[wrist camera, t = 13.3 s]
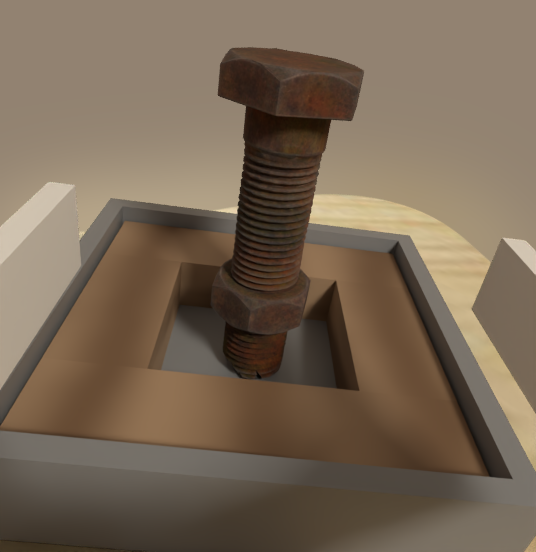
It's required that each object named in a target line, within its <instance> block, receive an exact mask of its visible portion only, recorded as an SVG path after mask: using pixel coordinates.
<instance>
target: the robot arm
mask: <svg viewBox="0 0 536 552" xmlns="http://www.w3.org/2000/svg"><path fill="white" fill-rule="evenodd" d="M80 267H81V255H80V242H79V228H78V215H77V202H76V189H75V185H69V184H62V183H54V182H48V183H47V184H46V185H45V186H44V187H43V188H42V189H40V190H39V191H38V192H37V193H36V194H35V195H34V196H33V197H32V198H31V199H30V200H29V201H28V202H26V203H25V205H23V206H22V207H21V208H20V209H19V210H18V211H17V212H16V213H15V214H14V215H12V216H11V217H10V218H9V219H8V220H7V221H6V222H5V223H4V224H3V225H2V226H1V227H0V389H1V388H2V386H3V385H4V383H5V382H6V380H7V379H8V377H9V375H10V374H11V372H12V371H13V369H14V368H15V366H16V365H17V363H18V362H19V360H20V359H21V357H22V356H23V354H24V352H25V351H26V349H27V348H28V346H29V345H30V343H31V342H32V340H33V339H34V337H35V336H36V334H37V333H38V331H39V329H40V328H41V326H42V325H43V323H44V322H45V320H46V319H47V317H48V316H49V314H50V313H51V311H52V309H53V308H54V306H55V305H56V303H57V302H58V300H59V299H60V297H61V296H62V294H63V293H64V291H65V290H66V288H67V286H68V285H69V283H70V282H71V280H72V279H73V277H74V276H75V274H76V273H77V271H78V270H79V268H80ZM472 311H473V312H474V314H475V315H476V317H477V319H478V320H479V322H480V324H481V325H482V327H483V329H484V330H485V332H486V333H487V335H488V337H489V338H490V340H491V342H492V343H493V345H494V346H495V348H496V350H497V351H498V353H499V355H500V356H501V358H502V359H503V361H504V363H505V364H506V366H507V368H508V369H509V371H510V373H511V374H512V376H513V377H514V379H515V381H516V382H517V384H518V386H519V387H520V389H521V390H522V392H523V394H524V395H525V397H526V399H527V400H528V402H529V403H530V405H531V407H532V408H533V410H534V412H535V413H536V251H535V250H534V249H533V248H532V247H531V246H530V245H529V244H528V243H527V242H526V241H525V240H517V239H508V238H502V239H501V241H500V244H499V246H498V248H497V251H496V253H495V256H494V258H493V260H492V262H491V265H490V267H489V269H488V272H487V274H486V276H485V279H484V281H483V284H482V286H481V288H480V291H479V293H478V295H477V298H476V300H475V302H474V305H473V307H472Z"/></svg>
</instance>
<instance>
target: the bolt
mask: <svg viewBox="0 0 536 552" xmlns="http://www.w3.org/2000/svg"><path fill="white" fill-rule="evenodd" d="M363 74H364V71H363V70H362V69H360V68H358V67H356V66H355V65H352V64H349V63H346V62H344V61H341V60H338V59H333V58H328V57H323V56H318V55H313V54H307V53H300V52H293V51H287V50H282V49H277V48H272V49H268V48H251V47H248V48H232V49H230V50H229V51H228V53H227V54H226V55H225V57H224V58H223V60H222V62H221V64H220V75H219V86H218V96H220V97H223V98H225V99H228V100H231V101H234V102H237V103H240V104H243V105H245V106H246V113H245V124H244V134H243V138H244V141H245V149H244V152H245V153H244V154H245V156H244V160H243V161H244V164H243V170H244V171H243V172H242V177H243V178H242V179H241V187H240V194H239V200H240V201H239V202H238V206H239V208H238V210H237V211H238V215H237V218H236V219H237V223H236V230H235V234H236V235H235V243H234V250H233V256H232V259H230V260H228V261H226V262H225V263H224V264H223V265H222V266H221V267H220V269H219V271H218V273H217V275H216V277H215V280H214V282H213V285H212V293H211V304H210V305H211V306H212V308H213V309H214V310H215V311H216V312H217V314H218V315H219V316H220V317H221V318H222V319H223V320H225V323H226V324H225V331H224V341H223V353H224V355H225V357H226V359H228V360H229V361H230V362H231V364H232V365H233V367H234V368H235V369H236V371H238V373H239V374H240V376H241V377H242V378H245V379H256V376H255V375H257V373H256V371H257V372H258V373H259V375H260V376H261V377H262V379H263V378H268V377H270V376H272V375H274V374H275V373H276V372H278V370H279V369H280V366H281V362H282V358H283V353H284V347H285V344H286V343H285V341H286V339H287V331H289V330H291V329H294V328H296V327H299V325H300V323H301V320H302V316H303V313H304V309H305V305H306V301H307V297H308V292H309V287H310V282H311V280H310V279H309V278H308V276H307V275H306V274H305V273H304V272H303V271H302V270H301V269H300V266H301V261H302V254H303V248H304V242H305V239H306V236H305V235H306V233H307V228H308V224H309V223H308V222H309V218H310V213H311V207H312V205H313V198H314V192H315V185H316V182H317V176H318V174H319V173H318V169H319V168H320V161H321V157H322V153H323V152H324V151H325V148H326V143H327V138H328V133H329V128H330V123H331V120H346V121H351V120H352V119H353V116H354V112H355V110H356V107H357V102H358V97H359V93H360V88H361V84H362V79H363Z"/></svg>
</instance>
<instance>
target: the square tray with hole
mask: <svg viewBox="0 0 536 552" xmlns="http://www.w3.org/2000/svg"><path fill="white" fill-rule="evenodd" d="M235 235H236V234H228V233H220V232H212V231H204V230H196V229H188V228H179V227H171V226H163V225H155V224H147V223H139V222H131V221H125V222H124V223H123V225H122V227H121V228H120V230H119V232H118V233H117V235H116V237H115V238H114V240H113V242H112V243H111V245H110V246H109V248H108V250H107V251H106V253H105V255H104V256H103V258H102V260H101V261H100V263H99V265H98V266H97V268H96V269H95V271H94V273H93V274H92V276H91V278H90V279H89V281H88V283H87V284H86V286H85V288H84V289H83V291H82V293H81V294H80V296H79V297H78V299H77V301H76V302H75V304H74V306H73V307H72V309H71V311H70V312H69V314H68V316H67V317H66V319H65V321H64V322H63V324H62V325H61V327H60V329H59V330H58V332H57V334H56V335H55V337H54V339H53V340H52V342H51V344H50V345H49V347H48V348H47V350H46V352H45V353H44V355H43V357H42V358H41V360H40V362H39V363H38V365H37V367H36V368H35V370H34V372H33V373H32V375H31V376H30V378H29V380H28V381H27V383H26V385H25V386H24V388H23V390H22V391H21V393H20V395H19V396H18V398H17V399H16V401H15V403H14V404H13V406H12V408H11V409H10V411H9V413H8V414H7V416H6V418H5V419H4V421H3V423H2V424H1V426H0V431H11V432H21V433H32V434H42V435H53V436H63V437H74V438H84V439H95V440H105V441H116V442H126V443H137V444H147V445H158V446H168V447H179V448H190V449H200V450H211V451H221V452H232V453H242V454H253V455H263V456H274V457H284V458H295V459H305V460H316V461H326V462H337V463H347V464H358V465H368V466H379V467H389V468H400V469H411V470H421V471H432V472H442V473H453V474H463V475H474V476H484V477H490V476H489V474H488V471H487V469H486V467H485V465H484V462H483V460H482V458H481V455H480V453H479V451H478V448H477V446H476V444H475V442H474V439H473V437H472V435H471V432H470V430H469V428H468V426H467V423H466V421H465V419H464V416H463V414H462V412H461V409H460V407H459V405H458V403H457V400H456V398H455V396H454V393H453V391H452V389H451V387H450V384H449V382H448V380H447V377H446V375H445V373H444V371H443V368H442V366H441V364H440V361H439V359H438V357H437V354H436V352H435V350H434V348H433V345H432V343H431V341H430V338H429V336H428V334H427V332H426V329H425V327H424V325H423V322H422V320H421V318H420V315H419V313H418V311H417V309H416V306H415V304H414V302H413V299H412V297H411V295H410V293H409V290H408V288H407V286H406V283H405V281H404V279H403V276H402V274H401V272H400V270H399V267H398V265H397V263H396V260H395V258H394V256H393V254H391V253H383V252H375V251H367V250H359V249H351V248H342V247H334V246H326V245H318V244H310V243H304V248H303V254H302V261H301V266H300V269H301V270H302V271H303V272H304V273H305V274H306V275H307V276H308V278H309V279H310V280H311V282H310V287H309V292H308V297H307V301H306V305H305V309H304V313H303V316H302V319H311V320H320V321H326V323H327V330H328V336H329V343H330V349H331V355H332V362H333V368H334V374H335V381H336V387H337V389H335V388H326V387H316V386H307V385H297V384H288V383H278V382H269V381H259V380H249V379H240V378H230V377H221V376H211V375H202V374H192V373H182V372H173V371H163V370H161V368H162V365H163V361H164V358H165V354H166V350H167V347H168V343H169V340H170V336H171V333H172V329H173V326H174V322H175V319H176V315H177V312H178V308H179V305H187V306H196V307H205V308H212V306H211V305H210V304H211V293H212V285H213V282H214V280H215V277H216V275H217V273H218V271H219V269H220V267H221V266H222V265H223V264H224V263H225V262H226V261H228V260H230V259H232V256H233V250H234V243H235Z"/></svg>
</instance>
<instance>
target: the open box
mask: <svg viewBox="0 0 536 552" xmlns="http://www.w3.org/2000/svg"><path fill="white" fill-rule="evenodd" d="M237 215H238V214H232V213H224V212H217V211H209V210H201V209H193V208H192V209H191V208H184V207H177V206H168V205H160V204H153V203H145V202H137V201H129V200H120V199H112V198H111V199H110V200H109V202H108V203H107V204H106V206H105V207H104V208H103V210H102V211H101V213H100V214H99V215H98V217H97V218H96V219H95V221H94V222H93V223H92V225H91V226H90V228H89V229H88V230H87V232H86V233H85V234H84V236H83V237H82V238H81V240H80V241H79V242H80V255H81V267H80V268H79V270H78V271H77V273H76V274H75V276H74V277H73V279H72V280H71V282H70V283H69V285H68V286H67V288H66V290H65V291H64V293H63V294H62V296H61V297H60V299H59V300H58V302H57V303H56V305H55V306H54V308H53V309H52V311H51V313H50V314H49V316H48V317H47V319H46V320H45V322H44V323H43V325H42V326H41V328H40V329H39V331H38V333H37V334H36V336H35V337H34V339H33V340H32V342H31V343H30V345H29V346H28V348H27V349H26V351H25V352H24V354H23V356H22V357H21V359H20V360H19V362H18V363H17V365H16V366H15V368H14V369H13V371H12V372H11V374H10V375H9V377H8V379H7V380H6V382H5V383H4V385H3V386H2V388H1V389H0V426H1V424H2V423H3V421H4V419H5V418H6V416H7V414H8V413H9V411H10V409H11V408H12V406H13V404H14V403H15V401H16V399H17V398H18V396H19V395H20V393H21V391H22V390H23V388H24V386H25V385H26V383H27V381H28V380H29V378H30V376H31V375H32V373H33V372H34V370H35V368H36V367H37V365H38V363H39V362H40V360H41V358H42V357H43V355H44V353H45V352H46V350H47V348H48V347H49V345H50V344H51V342H52V340H53V339H54V337H55V335H56V334H57V332H58V330H59V329H60V327H61V325H62V324H63V322H64V321H65V319H66V317H67V316H68V314H69V312H70V311H71V309H72V307H73V306H74V304H75V302H76V301H77V299H78V297H79V296H80V294H81V293H82V291H83V289H84V288H85V286H86V284H87V283H88V281H89V279H90V278H91V276H92V274H93V273H94V271H95V269H96V268H97V266H98V265H99V263H100V261H101V260H102V258H103V256H104V255H105V253H106V251H107V250H108V248H109V246H110V245H111V243H112V242H113V240H114V238H115V237H116V235H117V233H118V232H119V230H120V228H121V227H122V225H123V223H124V222H125V221H131V222H139V223H147V224H155V225H163V226H171V227H179V228H188V229H196V230H204V231H212V232H220V233H228V234H235V230H236V223H237V219H236V218H237ZM305 236H306V239H305V242H304V243H310V244H318V245H326V246H334V247H342V248H351V249H359V250H367V251H375V252H383V253H391V254H393V256H394V258H395V260H396V263H397V265H398V267H399V270H400V272H401V274H402V276H403V279H404V281H405V283H406V286H407V288H408V290H409V293H410V295H411V297H412V299H413V302H414V304H415V306H416V309H417V311H418V313H419V315H420V318H421V320H422V322H423V325H424V327H425V329H426V332H427V334H428V336H429V338H430V341H431V343H432V345H433V348H434V350H435V352H436V354H437V357H438V359H439V361H440V364H441V366H442V368H443V371H444V373H445V375H446V377H447V380H448V382H449V384H450V387H451V389H452V391H453V393H454V396H455V398H456V400H457V403H458V405H459V407H460V409H461V412H462V414H463V416H464V419H465V421H466V423H467V426H468V428H469V430H470V432H471V435H472V437H473V439H474V442H475V444H476V446H477V448H478V451H479V453H480V455H481V458H482V460H483V462H484V465H485V467H486V469H487V471H488V474H489V476H490V477H484V476H474V475H463V474H453V473H442V472H432V471H421V470H411V469H400V468H389V467H379V466H368V465H358V464H347V463H337V462H326V461H316V460H305V459H295V458H284V457H274V456H263V455H253V454H242V453H232V452H221V451H211V450H200V449H190V448H179V447H168V446H158V445H147V444H137V443H126V442H116V441H105V440H95V439H84V438H74V437H63V436H53V435H42V434H32V433H21V432H11V431H0V540H10V541H22V542H34V543H47V544H59V545H71V546H83V547H96V548H108V549H120V550H132V551H145V552H524V551H525V550H526V548H527V547H528V545H529V544H530V543H531V541H532V540H533V539H534V537H535V536H536V472H535V470H534V468H533V466H532V464H531V463H530V461H529V459H528V457H527V455H526V453H525V451H524V449H523V448H522V446H521V444H520V442H519V440H518V438H517V436H516V434H515V433H514V431H513V429H512V427H511V425H510V423H509V421H508V419H507V418H506V416H505V414H504V412H503V410H502V408H501V406H500V404H499V403H498V401H497V399H496V397H495V395H494V393H493V391H492V389H491V387H490V386H489V384H488V382H487V380H486V378H485V376H484V374H483V372H482V371H481V369H480V367H479V365H478V363H477V361H476V359H475V357H474V356H473V354H472V352H471V350H470V348H469V346H468V344H467V342H466V341H465V339H464V337H463V335H462V333H461V331H460V329H459V327H458V326H457V324H456V322H455V320H454V318H453V316H452V314H451V312H450V311H449V309H448V307H447V305H446V303H445V301H444V299H443V297H442V296H441V294H440V292H439V290H438V288H437V286H436V284H435V282H434V281H433V279H432V277H431V275H430V273H429V271H428V269H427V267H426V266H425V264H424V262H423V260H422V258H421V256H420V254H419V252H418V251H417V249H416V247H415V245H414V243H413V241H412V239H411V237H410V236H408V235H400V234H392V233H384V232H376V231H368V230H360V229H352V228H344V227H336V226H328V225H320V224H312V223H309V224H308V228H307V233H306V235H305ZM225 324H226V323H225V320H223V319H222V318H221V317H220V316H219V315H218V314H217V312H216V311H215V310H214V309H213V308H205V307H196V306H187V305H179V308H178V312H177V315H176V319H175V322H174V326H173V329H172V333H171V336H170V340H169V343H168V347H167V350H166V354H165V358H164V361H163V365H162V368H161V370H163V371H173V372H182V373H192V374H202V375H211V376H221V377H230V378H240V379H245V378H242V377H241V376H240V374H239V373H238V371H236V369H235V368H234V367H233V365H232V364H231V362H230V361H229V360H228V359H226V357H225V355H224V353H223V341H224V331H225ZM285 343H286V344H285V347H284V353H283V358H282V362H281V366H280V369H279V370H278V372H276V373H275V374H274V375H272V376H270V377H268V378H263V379H262V377H261V376H260V375H259V373H258V372H257V371H256V373H257V375H255V376H256V379H249V380H259V381H269V382H278V383H288V384H297V385H307V386H316V387H326V388H335V389H337V387H336V381H335V374H334V368H333V362H332V355H331V349H330V343H329V336H328V330H327V323H326V321H320V320H311V319H302V320H301V323H300V325H299V327H296V328H294V329H291V330H289V331H287V339H286V341H285Z"/></svg>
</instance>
